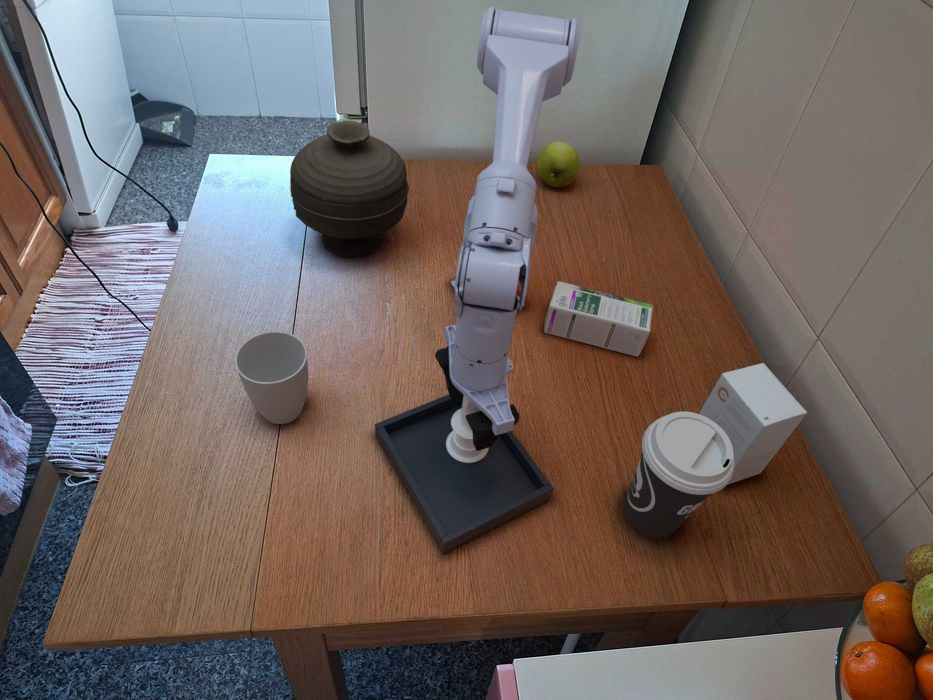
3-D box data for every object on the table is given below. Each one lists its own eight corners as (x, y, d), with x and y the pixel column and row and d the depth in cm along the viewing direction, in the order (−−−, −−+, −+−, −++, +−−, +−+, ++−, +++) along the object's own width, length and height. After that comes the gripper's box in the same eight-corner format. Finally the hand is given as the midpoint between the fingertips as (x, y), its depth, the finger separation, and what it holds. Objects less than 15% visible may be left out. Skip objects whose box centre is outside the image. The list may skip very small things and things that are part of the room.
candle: (437, 441, 80) (442, 380, 71) (470, 420, 83) (479, 359, 74) (464, 471, 78) (473, 411, 69) (497, 449, 80) (510, 389, 71)
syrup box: (651, 331, 89) (549, 303, 91) (638, 359, 94) (541, 332, 95) (654, 304, 93) (556, 278, 95) (642, 332, 98) (548, 307, 99)
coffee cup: (644, 565, 72) (689, 498, 61) (595, 496, 78) (629, 422, 67) (707, 531, 76) (761, 462, 65) (656, 467, 81) (698, 393, 70)
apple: (531, 192, 120) (538, 154, 114) (535, 166, 126) (542, 129, 120) (573, 199, 119) (582, 161, 113) (575, 173, 125) (584, 135, 120)
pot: (433, 227, 109) (429, 121, 93) (367, 291, 99) (350, 184, 84) (350, 190, 115) (333, 84, 99) (280, 248, 105) (250, 140, 90)
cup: (325, 394, 84) (319, 343, 77) (294, 442, 79) (284, 392, 72) (270, 376, 86) (258, 323, 78) (236, 422, 80) (220, 370, 73)
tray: (375, 435, 81) (374, 423, 79) (474, 395, 87) (476, 382, 85) (442, 554, 71) (444, 543, 69) (550, 499, 77) (554, 488, 75)
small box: (760, 474, 82) (809, 413, 72) (720, 488, 80) (764, 427, 70) (722, 424, 87) (764, 360, 77) (683, 436, 85) (720, 372, 75)
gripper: (548, 385, 63) (527, 460, 73) (489, 289, 72) (477, 368, 82) (483, 403, 61) (470, 478, 71) (429, 302, 70) (425, 381, 80)
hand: (470, 420), depth 76 cm, fingers open, 7 cm apart
